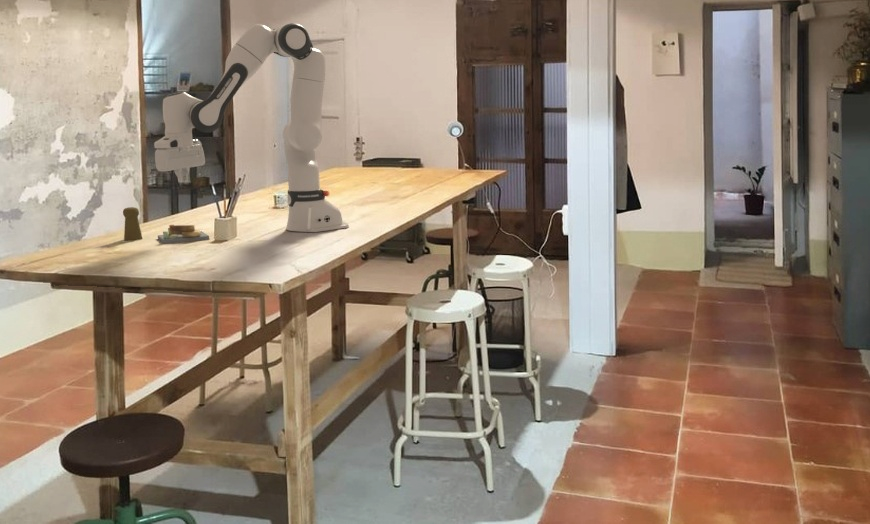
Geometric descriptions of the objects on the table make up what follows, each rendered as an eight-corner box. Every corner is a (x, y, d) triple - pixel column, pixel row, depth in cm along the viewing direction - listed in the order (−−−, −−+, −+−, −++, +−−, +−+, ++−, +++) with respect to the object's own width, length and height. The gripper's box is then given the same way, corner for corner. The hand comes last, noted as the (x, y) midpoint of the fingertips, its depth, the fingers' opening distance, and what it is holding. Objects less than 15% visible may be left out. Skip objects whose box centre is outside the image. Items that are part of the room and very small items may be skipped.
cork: (136, 237, 311) (133, 205, 309) (146, 238, 307) (143, 207, 305) (120, 239, 307) (117, 207, 304) (130, 241, 303) (127, 209, 301)
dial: (202, 234, 306) (201, 223, 305) (197, 237, 300) (196, 226, 299) (173, 234, 306) (172, 223, 306) (167, 237, 300) (167, 226, 300)
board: (201, 234, 314) (200, 224, 313) (209, 239, 304) (208, 228, 303) (157, 238, 307) (157, 228, 306) (164, 243, 297) (163, 232, 297)
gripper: (193, 138, 311) (197, 177, 314) (150, 143, 294) (154, 185, 297) (207, 138, 309) (211, 178, 311) (164, 143, 291) (168, 185, 294)
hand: (183, 181), depth 304 cm, fingers closed
